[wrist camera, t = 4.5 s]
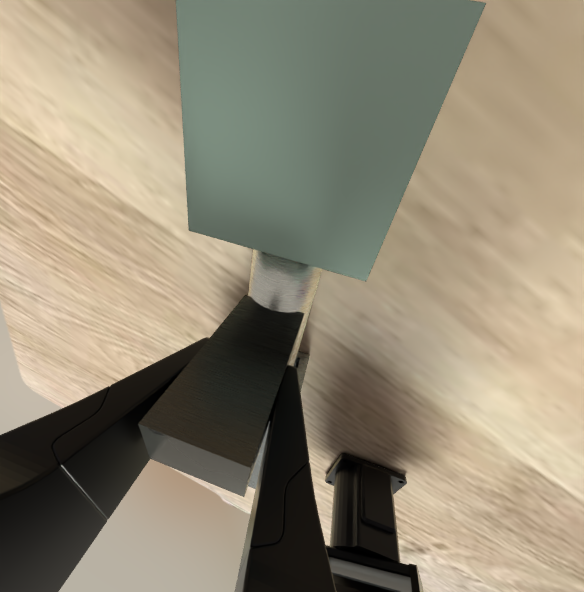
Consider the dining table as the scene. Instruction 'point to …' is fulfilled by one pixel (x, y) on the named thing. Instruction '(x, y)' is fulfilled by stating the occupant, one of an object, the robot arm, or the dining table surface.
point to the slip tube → (234, 379)
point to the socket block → (311, 118)
